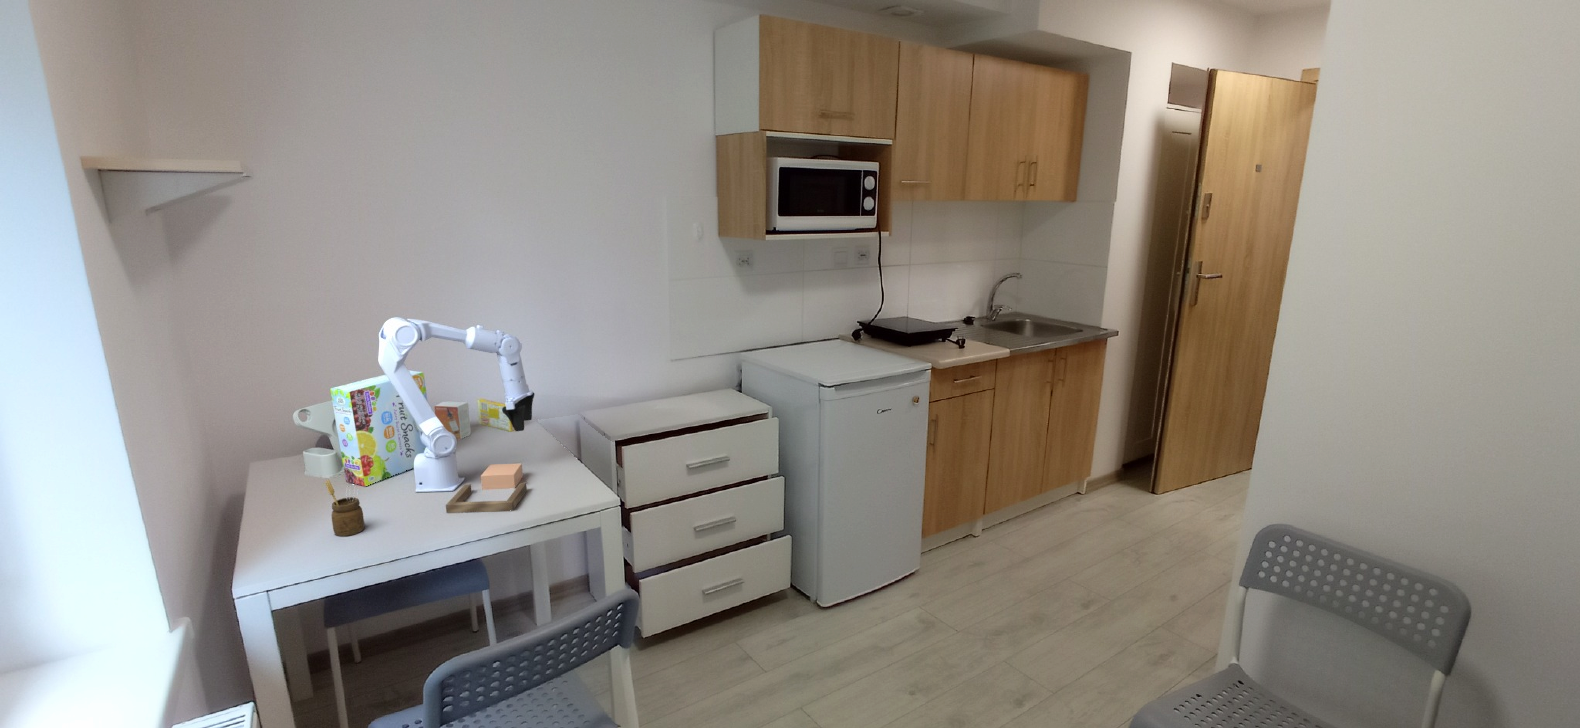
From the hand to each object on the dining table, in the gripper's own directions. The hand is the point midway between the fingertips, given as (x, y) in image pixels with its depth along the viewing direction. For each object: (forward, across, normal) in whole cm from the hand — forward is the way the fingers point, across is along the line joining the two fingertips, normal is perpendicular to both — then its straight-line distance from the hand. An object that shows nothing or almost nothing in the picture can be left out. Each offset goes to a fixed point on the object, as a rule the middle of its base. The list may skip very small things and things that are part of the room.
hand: (523, 425), depth 198 cm
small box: (+11, +27, +31) cm, 43 cm away
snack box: (+8, -2, +37) cm, 38 cm away
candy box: (+13, +36, +21) cm, 44 cm away
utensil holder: (+6, -38, +29) cm, 49 cm away
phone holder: (+7, +3, +52) cm, 52 cm away
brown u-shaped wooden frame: (+10, -23, +4) cm, 26 cm away
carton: (+11, -12, +4) cm, 17 cm away
